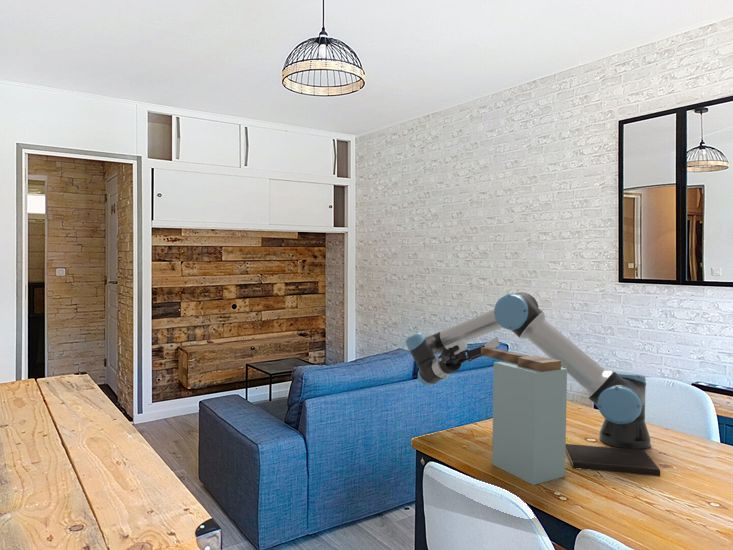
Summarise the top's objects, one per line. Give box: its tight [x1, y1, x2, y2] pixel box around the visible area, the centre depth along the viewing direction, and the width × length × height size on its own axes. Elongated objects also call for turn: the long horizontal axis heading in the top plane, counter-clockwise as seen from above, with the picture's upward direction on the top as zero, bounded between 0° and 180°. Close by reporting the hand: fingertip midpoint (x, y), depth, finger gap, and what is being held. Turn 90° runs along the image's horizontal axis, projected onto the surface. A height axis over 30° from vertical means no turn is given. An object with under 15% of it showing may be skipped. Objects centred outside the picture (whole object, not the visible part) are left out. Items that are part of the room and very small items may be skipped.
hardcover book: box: [565, 443, 661, 477], centre depth 158 cm, size 16×23×2 cm
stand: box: [491, 360, 568, 486], centre depth 151 cm, size 16×12×30 cm
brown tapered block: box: [480, 346, 561, 372], centre depth 155 cm, size 27×7×2 cm, turn 29°
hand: (482, 342), depth 173 cm, fingers open, 13 cm apart
